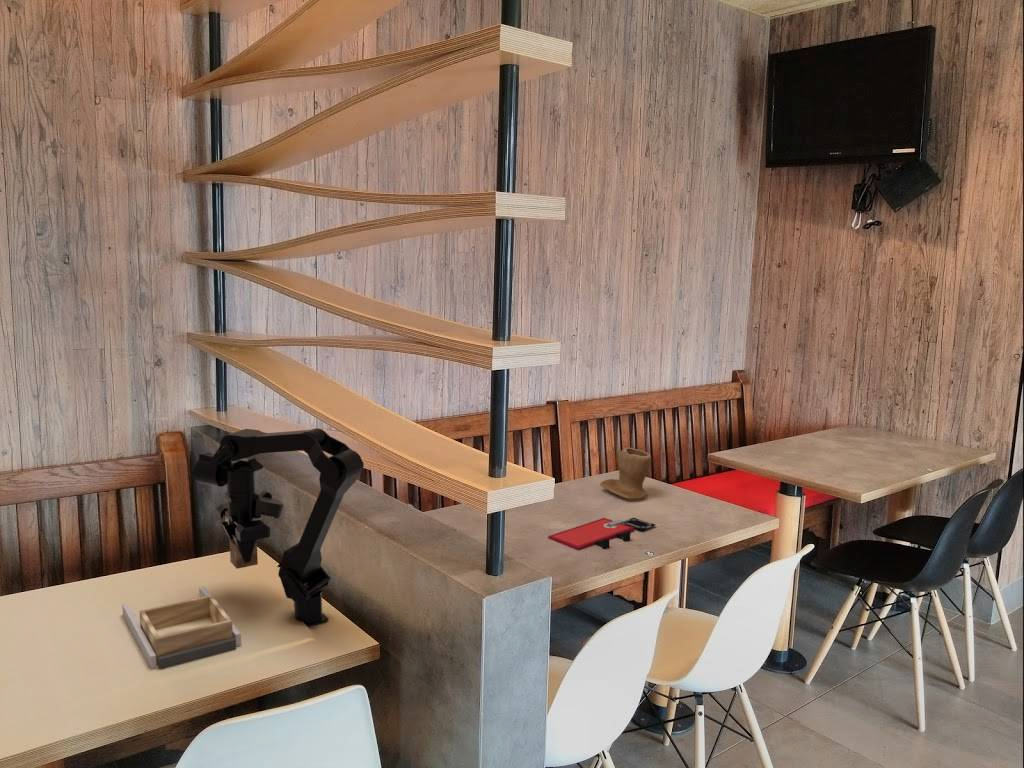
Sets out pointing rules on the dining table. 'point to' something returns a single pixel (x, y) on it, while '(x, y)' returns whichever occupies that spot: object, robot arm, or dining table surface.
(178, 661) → the bay
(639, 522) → the red board with handle
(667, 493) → the dining table surface
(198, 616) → the crate
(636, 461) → the brown boot
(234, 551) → the block
